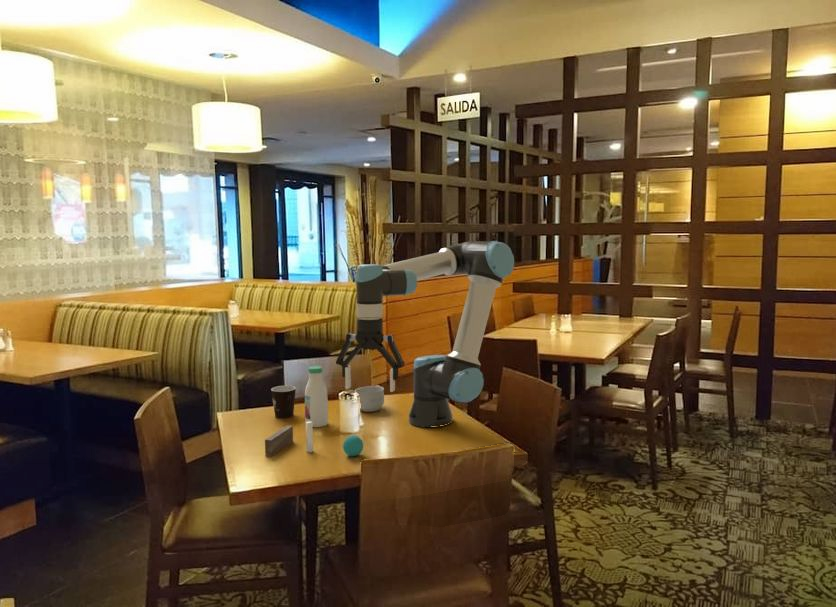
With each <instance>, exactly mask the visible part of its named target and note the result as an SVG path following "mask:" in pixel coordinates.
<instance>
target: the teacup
mask: <svg viewBox="0 0 836 607" xmlns="http://www.w3.org/2000/svg"><path fill="white" fill-rule="evenodd" d="M384 388H385V387H384V386H381V385H368V386H361V387H358V388H356V389H355V390H354V393H355V392H357V393H358V394H359V397H360V403H361V409H360V410H361V411H362V412H366V413H370V412H373V413H374V412H377V411H379V410H380V409H381V408H382V407H383V406H384V404H385V389H384Z"/></svg>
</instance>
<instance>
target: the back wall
mask: <svg viewBox="0 0 836 607" xmlns="http://www.w3.org/2000/svg"><path fill="white" fill-rule="evenodd" d="M293 442H294V429H293V425H286V426H284V427H282V428H281V429H279V430H278V431H276V432H275V433H273V434H272V435H270V436H267V438H266V439H264V449H265V452H264V453H265V455H264V456H265V457H268V458H269V457H271V458H272V457H273V456H275V455H276V454H277V453H279V452H280V451H282V450H283V449H284V448H286V447H287V446H288V445H290V444H291V443H293Z"/></svg>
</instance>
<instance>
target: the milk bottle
mask: <svg viewBox="0 0 836 607" xmlns="http://www.w3.org/2000/svg"><path fill="white" fill-rule="evenodd" d="M322 374H323V367H322V366H319V365H317V366H316V365H315V366H309V367H308V375H309V377H308V381H307V383H306V386H305V388H304V389H305V390H304V418H305V419H304V422H305V425H306V422H309V421H311V422H312V425H313V428H323V427H325V426H327V425H328V423H329V411H328V410H329V407H328V405H329V404H328V403H329V402H328V388H327V386H326V383H325V382H324V378H323V375H322Z"/></svg>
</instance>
